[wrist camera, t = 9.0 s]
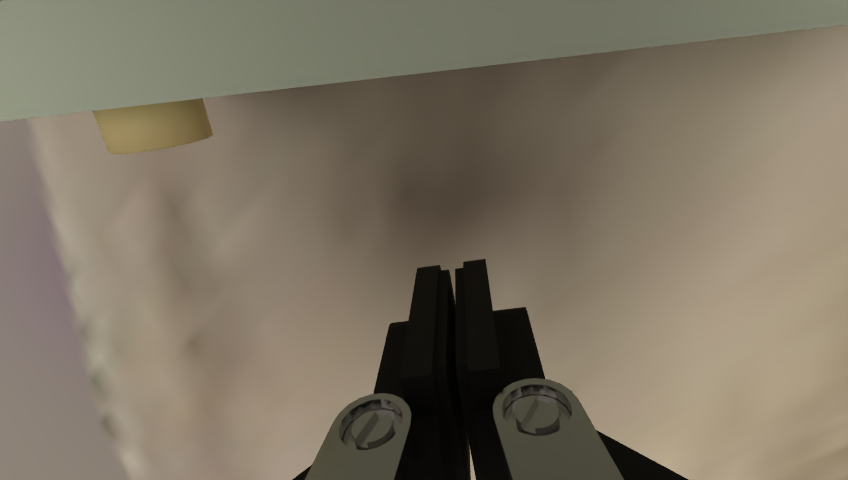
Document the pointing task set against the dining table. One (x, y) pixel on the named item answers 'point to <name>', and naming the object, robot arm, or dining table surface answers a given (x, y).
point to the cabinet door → (317, 47)
